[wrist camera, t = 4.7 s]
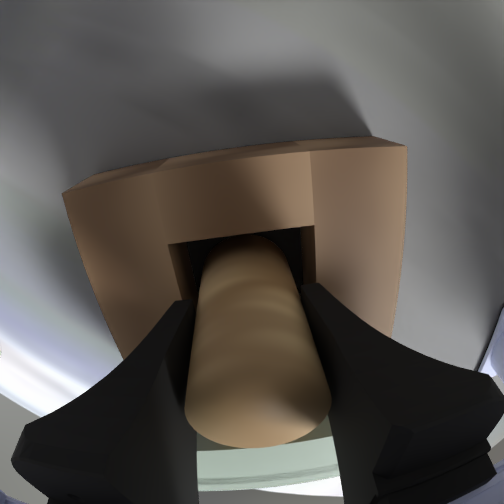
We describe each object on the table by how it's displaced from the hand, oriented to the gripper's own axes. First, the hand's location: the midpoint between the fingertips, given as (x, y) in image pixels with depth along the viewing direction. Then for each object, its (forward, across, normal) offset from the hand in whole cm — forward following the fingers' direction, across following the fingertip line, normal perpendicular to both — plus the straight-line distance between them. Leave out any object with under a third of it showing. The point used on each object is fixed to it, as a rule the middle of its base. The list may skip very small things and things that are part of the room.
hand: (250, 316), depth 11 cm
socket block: (+4, 0, 0) cm, 4 cm away
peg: (+3, 0, 0) cm, 3 cm away
